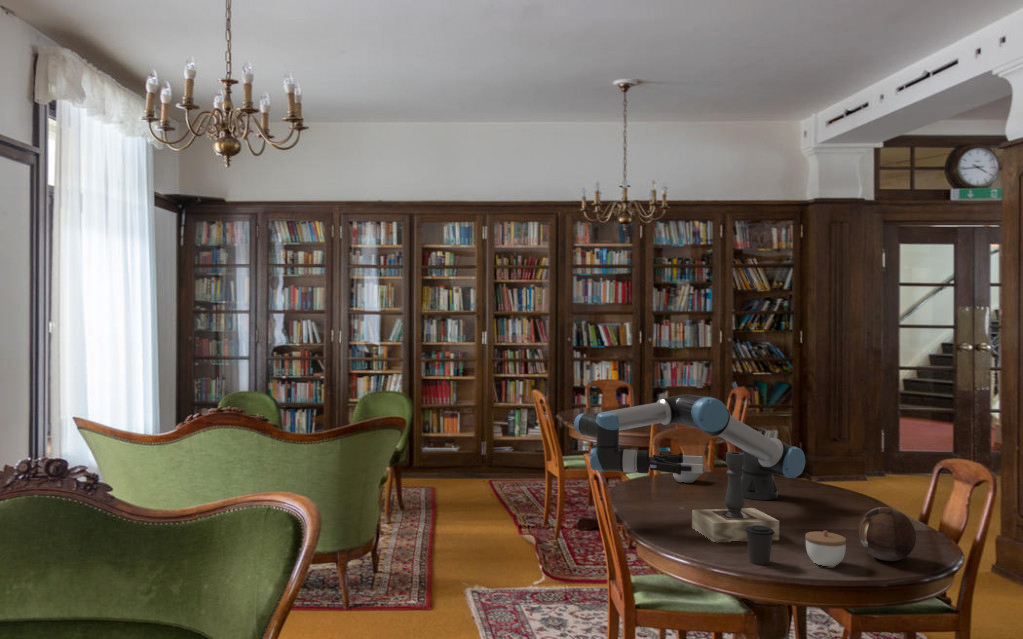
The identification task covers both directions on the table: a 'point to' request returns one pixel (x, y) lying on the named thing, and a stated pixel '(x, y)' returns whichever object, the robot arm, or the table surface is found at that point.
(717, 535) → the socket block
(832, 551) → the lidded jar
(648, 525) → the table surface
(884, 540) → the clear glass sphere
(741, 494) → the candle holder
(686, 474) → the teacup
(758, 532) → the coffee cup
